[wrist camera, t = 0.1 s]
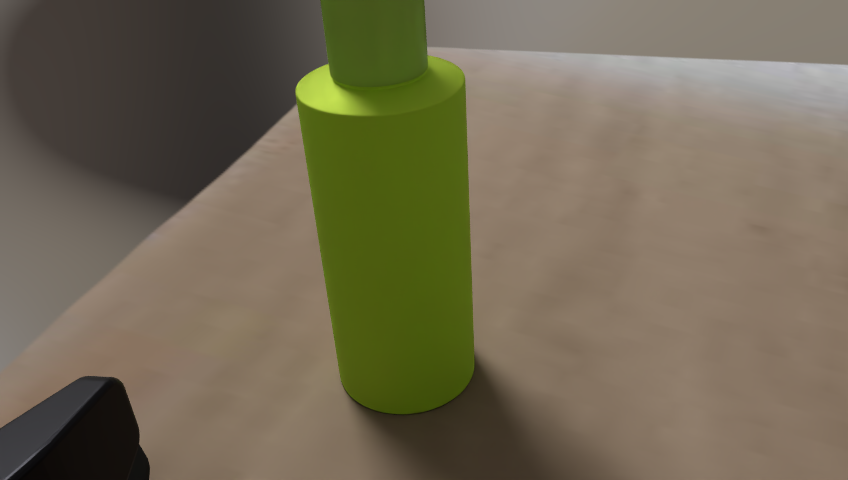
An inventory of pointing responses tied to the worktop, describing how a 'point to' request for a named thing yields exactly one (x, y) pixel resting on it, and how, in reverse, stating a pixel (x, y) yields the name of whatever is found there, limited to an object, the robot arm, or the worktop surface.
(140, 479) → the electric trimmer
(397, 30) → the soap dispenser
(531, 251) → the worktop surface
